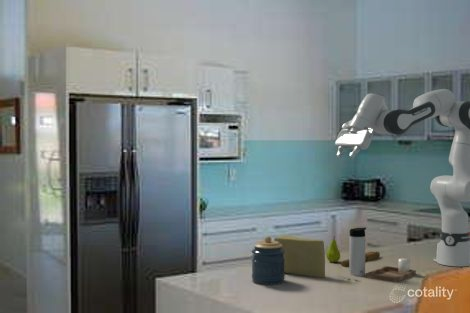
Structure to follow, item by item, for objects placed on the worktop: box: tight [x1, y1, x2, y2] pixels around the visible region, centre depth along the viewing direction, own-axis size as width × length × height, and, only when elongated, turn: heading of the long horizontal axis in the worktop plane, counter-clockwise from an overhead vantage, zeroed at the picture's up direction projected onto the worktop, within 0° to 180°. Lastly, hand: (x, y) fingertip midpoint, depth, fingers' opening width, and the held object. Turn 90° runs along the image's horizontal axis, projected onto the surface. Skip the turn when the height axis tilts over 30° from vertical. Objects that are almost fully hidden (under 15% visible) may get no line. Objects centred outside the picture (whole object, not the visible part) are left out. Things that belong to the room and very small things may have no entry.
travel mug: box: [348, 227, 367, 277], centre depth 244 cm, size 6×7×20 cm
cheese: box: [273, 234, 326, 279], centre depth 251 cm, size 22×10×15 cm, turn 49°
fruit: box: [325, 235, 341, 263], centre depth 274 cm, size 6×6×12 cm
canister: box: [251, 235, 286, 285], centre depth 238 cm, size 13×13×18 cm
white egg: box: [397, 257, 411, 275], centre depth 244 cm, size 4×4×6 cm
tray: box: [364, 265, 417, 283], centre depth 242 cm, size 18×13×3 cm
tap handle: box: [340, 250, 381, 268], centre depth 275 cm, size 3×3×30 cm
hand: (344, 157), depth 246 cm, fingers open, 8 cm apart
